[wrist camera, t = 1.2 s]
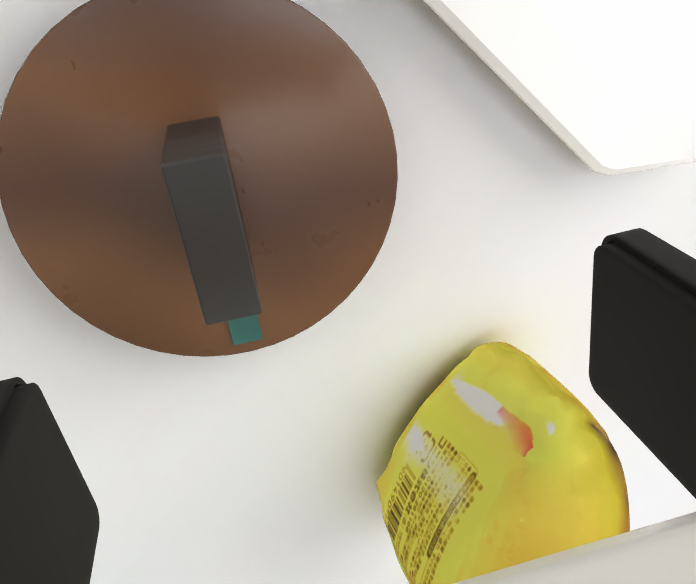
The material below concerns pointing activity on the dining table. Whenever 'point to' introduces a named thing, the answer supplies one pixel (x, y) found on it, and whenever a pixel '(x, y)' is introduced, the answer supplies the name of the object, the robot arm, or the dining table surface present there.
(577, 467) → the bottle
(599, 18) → the plate
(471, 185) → the dining table surface
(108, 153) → the turntable
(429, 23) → the dining table surface
